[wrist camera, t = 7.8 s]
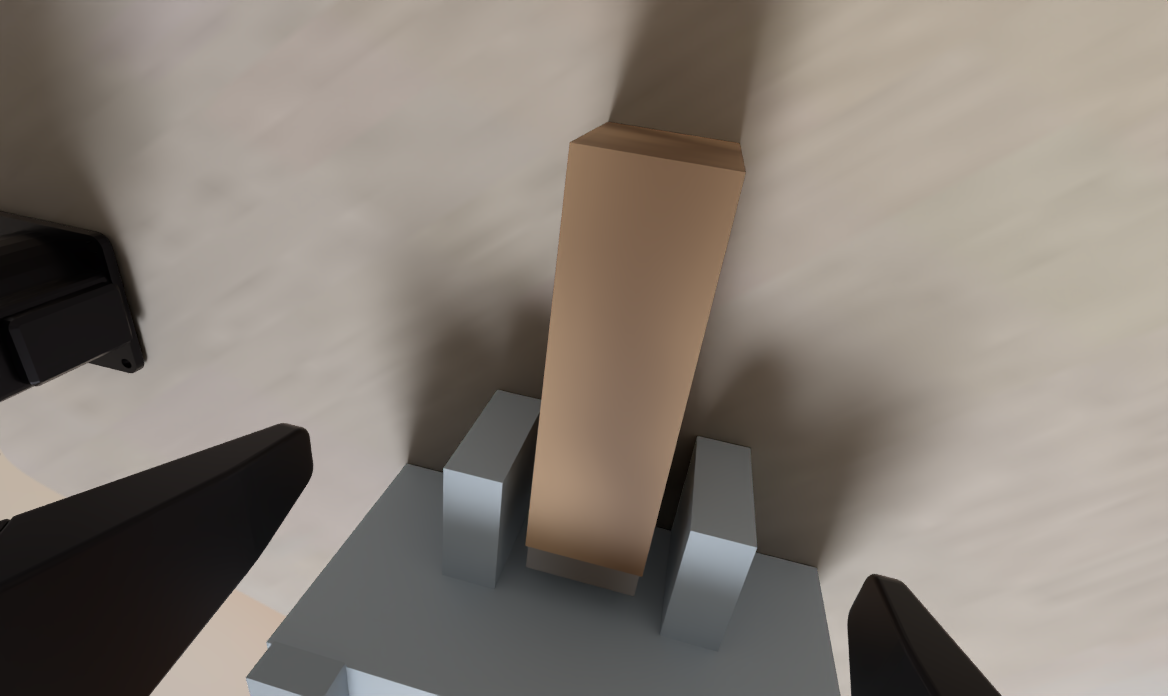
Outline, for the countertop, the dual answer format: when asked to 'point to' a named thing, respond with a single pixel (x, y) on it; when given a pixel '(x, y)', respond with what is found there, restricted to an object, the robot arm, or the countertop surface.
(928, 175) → the countertop surface
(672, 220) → the light brown long block
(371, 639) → the grey buttressed wall
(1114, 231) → the countertop surface
